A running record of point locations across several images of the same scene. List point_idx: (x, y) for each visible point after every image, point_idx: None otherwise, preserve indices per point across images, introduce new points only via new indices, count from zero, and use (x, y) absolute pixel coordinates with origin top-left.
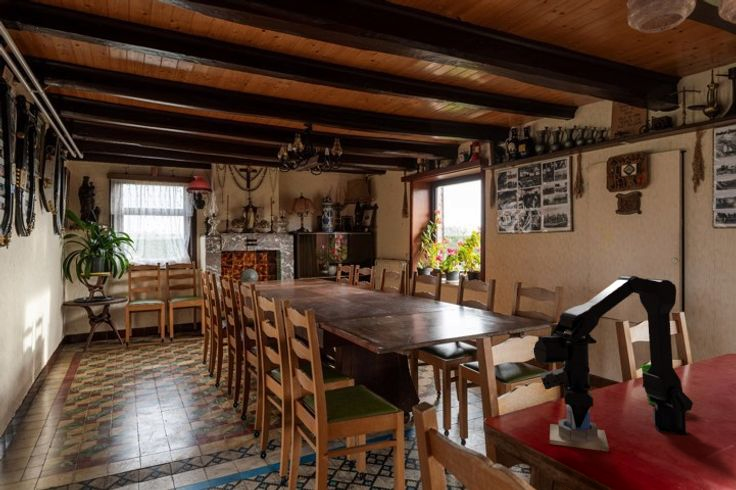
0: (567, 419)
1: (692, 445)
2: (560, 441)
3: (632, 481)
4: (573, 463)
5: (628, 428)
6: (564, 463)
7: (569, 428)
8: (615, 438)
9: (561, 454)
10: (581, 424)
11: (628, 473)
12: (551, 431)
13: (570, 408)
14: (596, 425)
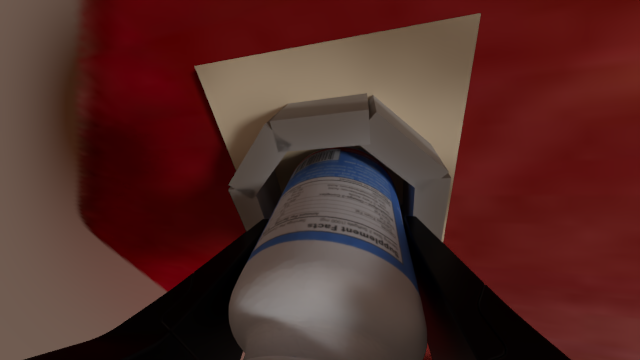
0: (298, 192)
1: None
2: (216, 121)
3: (149, 273)
4: (116, 169)
5: (521, 314)
6: (90, 144)
7: (254, 183)
8: None
9: (145, 128)
10: None
11: (179, 272)
12: (321, 53)
13: (234, 291)
14: None
